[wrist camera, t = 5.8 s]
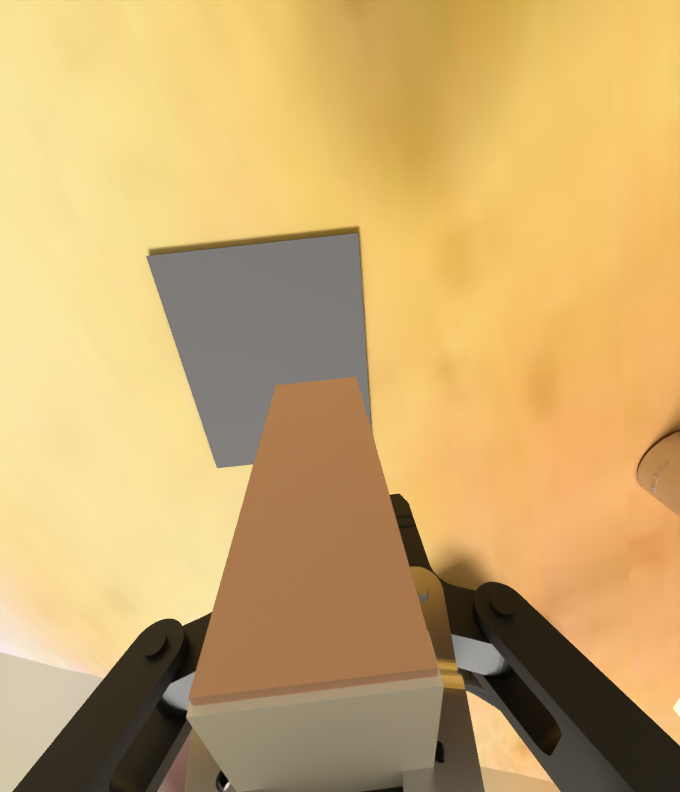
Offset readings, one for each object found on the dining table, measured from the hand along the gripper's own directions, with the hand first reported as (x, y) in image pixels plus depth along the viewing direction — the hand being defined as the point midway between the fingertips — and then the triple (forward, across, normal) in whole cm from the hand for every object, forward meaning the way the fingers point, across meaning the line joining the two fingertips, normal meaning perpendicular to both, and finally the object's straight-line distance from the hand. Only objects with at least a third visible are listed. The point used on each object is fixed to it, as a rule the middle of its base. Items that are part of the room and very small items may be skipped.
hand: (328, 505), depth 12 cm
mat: (+18, +4, +1) cm, 18 cm away
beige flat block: (+2, 0, 0) cm, 2 cm away
